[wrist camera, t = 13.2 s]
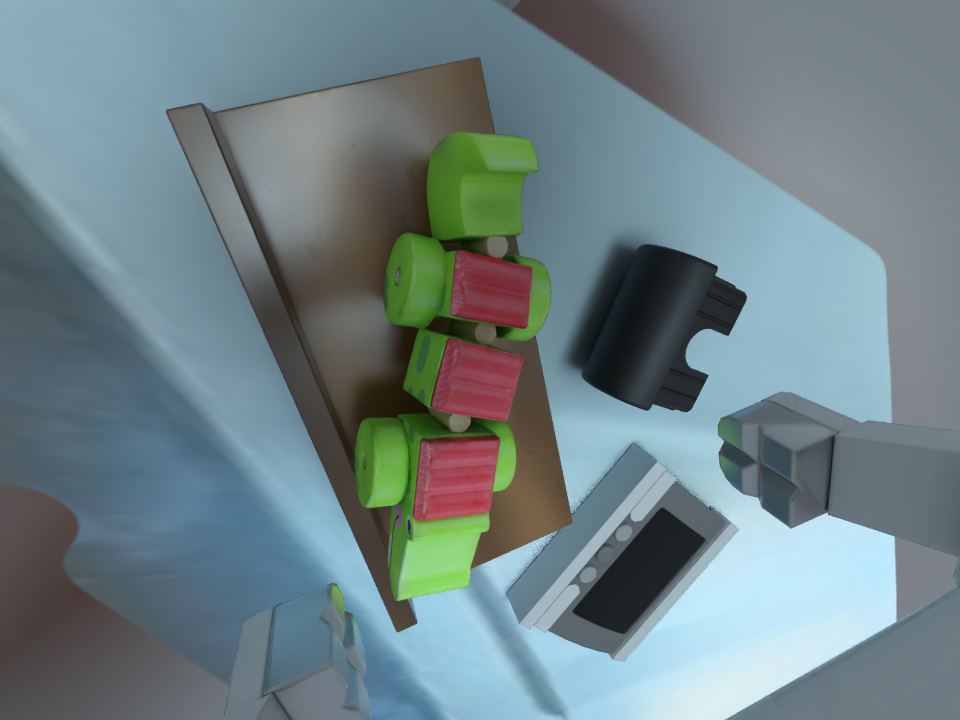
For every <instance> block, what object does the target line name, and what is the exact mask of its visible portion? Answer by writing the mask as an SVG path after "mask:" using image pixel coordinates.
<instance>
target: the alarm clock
mask: <svg viewBox="0 0 960 720" xmlns="http://www.w3.org/2000/svg"><path fill="white" fill-rule="evenodd" d="M666 469H667V468H665V467H664V466H663V465H662V464H660V463H659V462H658V461H657V460H655V459H654V458H653V457H652V456H650V455H649V454H648V453H646V452H645V451H644V450H643V449H641V448H640V447H639V446H637V445H636V444H635V443H633V444H632V445H631V446H630V448H629V449H628V450H627V451H626V452H625V454H624V455H623V456H622V457H621V458H620V460H619V461H618V462H617V463H616V464H615V465H614V467H613V468H612V469H611V470H610V471H609V473H608V474H607V475H606V476H605V477H604V478H603V480H602V481H601V482H600V483H599V484H598V486H597V487H596V488H595V489H594V490H593V492H592V493H591V494H590V495H589V496H588V497H587V499H586V500H585V501H584V502H583V503H582V505H581V506H580V507H579V508H578V509H577V510H576V512H575V513H574V514H573V515H572V521H573V523H572V524H570V525H568V526H566V527H564V528H561V529H560V531H559V532H558V533H557V534H556V535H555V537H554V538H553V539H552V540H551V541H550V542H549V544H548V545H547V546H546V547H545V548H544V550H543V551H542V552H541V553H540V554H539V556H538V557H537V558H536V559H535V560H534V561H533V563H532V564H531V565H530V566H529V567H528V569H527V570H526V571H525V572H524V573H523V575H522V576H521V577H520V578H519V579H518V580H517V582H516V583H515V584H514V585H513V586H512V588H511V589H510V590H509V591H508V592H507V596H508V598H509V601H510V603H511V605H512V608H513V610H514V613H515V615H516V617H517V620H518V622H519V624H520V625H522V626H524V627H526V628H528V629H529V630H530V629H531V628H532V627H533V626H534V627H536V628H538V629H540V630H542V631H544V632H545V633H546V632H547V631H550V632H552V633H554V634H556V635H558V636H560V637H562V638H564V639H566V640H568V641H571V642H573V643H576V644H578V645H581V646H583V647H586V648H590V649H593V650H596V651H600V652H605V653H608V654H609V655H610V657H611V658H612V660H618V661H625V660H626V659H627V658H628V657H629V656H630V655H631V653H632V652H633V651H634V650H635V649H636V648H637V646H638V645H639V644H640V643H641V642H642V641H643V640H644V638H645V637H646V636H647V635H648V634H649V633H650V632H651V630H652V629H653V628H654V627H655V626H656V625H657V623H658V622H659V621H660V620H661V619H662V618H663V617H664V615H665V614H666V613H667V612H668V611H669V610H670V609H671V607H672V606H673V605H674V604H675V603H676V602H677V600H678V599H679V598H680V597H681V596H682V595H683V594H684V592H685V591H686V590H687V589H688V588H689V587H690V586H691V584H692V583H693V582H694V581H695V580H696V579H697V578H698V576H699V575H700V574H701V573H702V572H703V571H704V569H705V568H706V567H707V566H708V565H709V564H710V563H711V561H712V560H713V559H714V558H715V557H716V556H717V555H718V553H719V552H720V551H721V550H722V549H723V548H724V546H725V545H726V544H727V543H728V542H729V541H730V540H731V538H732V537H733V536H734V535H735V534H736V533H737V532H738V530H739V529H738V528H737V527H736V526H735V525H734V524H732V523H731V522H730V521H729V520H727V519H726V518H725V517H724V516H722V515H721V514H720V513H719V512H717V511H716V510H715V509H714V508H713V509H712V510H710V509H709V508H708V507H707V506H706V505H704V504H703V503H702V502H701V501H700V500H698V499H697V498H696V497H695V496H693V495H692V494H691V493H690V492H689V491H687V490H686V489H685V488H684V487H683V486H681V485H680V484H679V483H678V482H676V480H677V479H676V478H675V477H674V476H672V475H671V474H670V473H669V472H668V471H666Z"/></svg>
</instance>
